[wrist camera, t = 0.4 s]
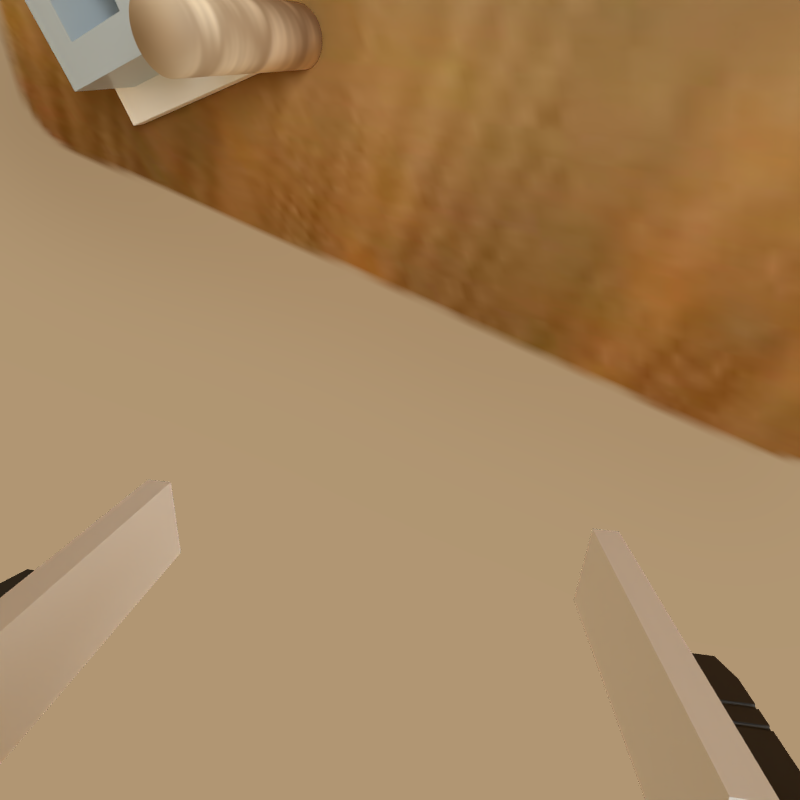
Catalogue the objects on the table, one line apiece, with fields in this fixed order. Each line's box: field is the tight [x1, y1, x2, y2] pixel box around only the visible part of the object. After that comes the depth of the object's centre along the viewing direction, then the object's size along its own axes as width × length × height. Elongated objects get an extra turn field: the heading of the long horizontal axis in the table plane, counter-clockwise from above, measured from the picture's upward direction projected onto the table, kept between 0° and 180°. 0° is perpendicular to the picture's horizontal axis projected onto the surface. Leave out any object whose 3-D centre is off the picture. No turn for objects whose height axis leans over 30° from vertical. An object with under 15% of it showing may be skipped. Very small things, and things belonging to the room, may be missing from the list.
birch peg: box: [129, 0, 322, 79], centre depth 28 cm, size 4×4×14 cm
